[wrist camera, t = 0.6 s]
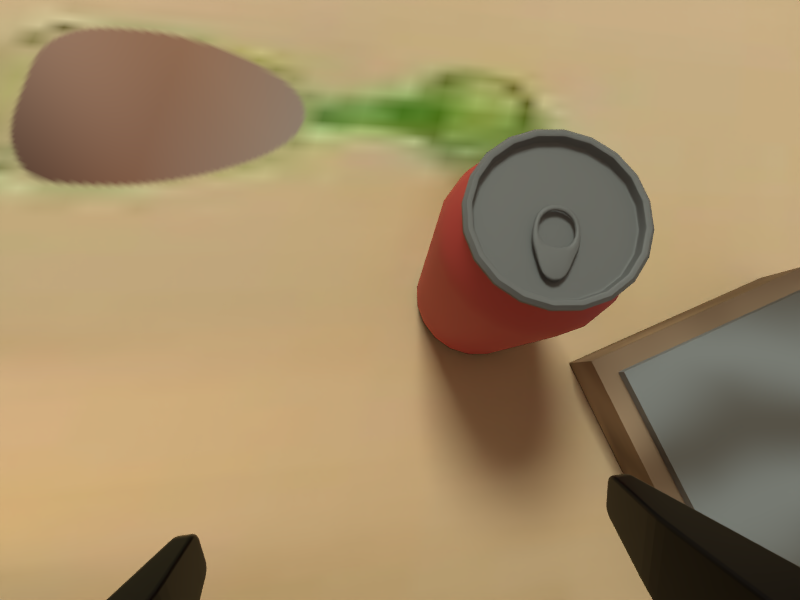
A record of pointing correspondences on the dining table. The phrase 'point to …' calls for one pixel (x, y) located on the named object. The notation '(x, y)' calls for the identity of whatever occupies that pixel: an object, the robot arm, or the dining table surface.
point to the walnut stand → (713, 408)
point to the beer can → (534, 243)
